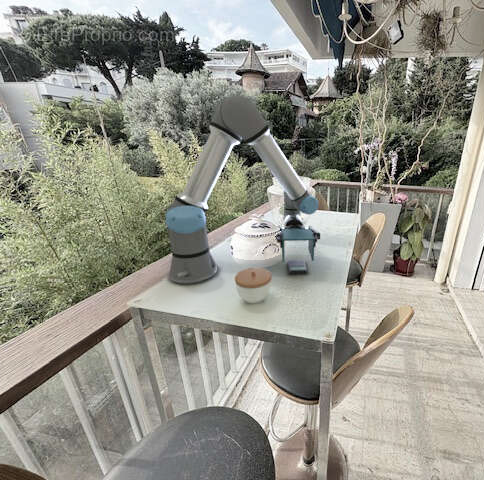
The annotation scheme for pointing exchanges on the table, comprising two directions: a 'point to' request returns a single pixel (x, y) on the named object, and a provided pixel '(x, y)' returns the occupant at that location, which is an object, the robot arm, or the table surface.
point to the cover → (299, 238)
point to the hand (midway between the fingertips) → (298, 244)
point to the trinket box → (253, 284)
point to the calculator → (297, 267)
